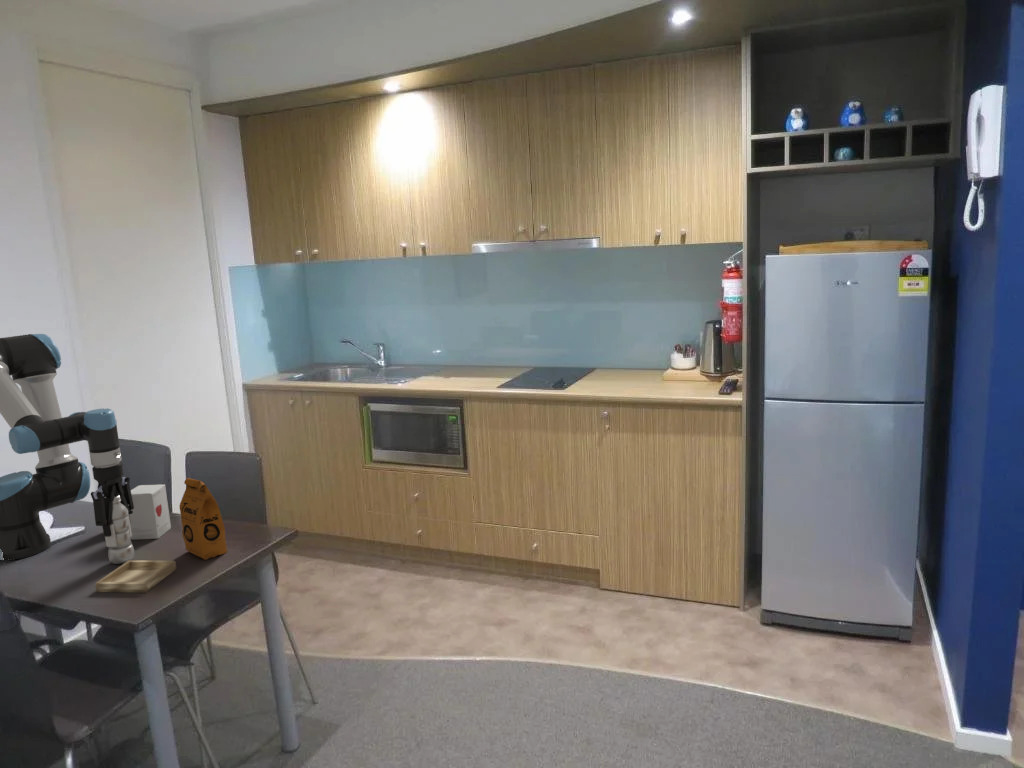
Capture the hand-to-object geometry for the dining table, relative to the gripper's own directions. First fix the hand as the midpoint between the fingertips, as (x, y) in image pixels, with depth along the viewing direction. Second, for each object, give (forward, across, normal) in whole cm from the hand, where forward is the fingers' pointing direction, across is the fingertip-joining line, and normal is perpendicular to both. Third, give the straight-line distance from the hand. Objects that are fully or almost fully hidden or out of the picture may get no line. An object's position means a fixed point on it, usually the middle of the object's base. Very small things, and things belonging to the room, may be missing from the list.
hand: (119, 540), depth 208 cm
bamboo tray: (+6, -11, -12) cm, 17 cm away
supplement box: (+7, +20, +4) cm, 21 cm away
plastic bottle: (+7, 0, 0) cm, 7 cm away
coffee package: (+7, +7, -22) cm, 24 cm away
